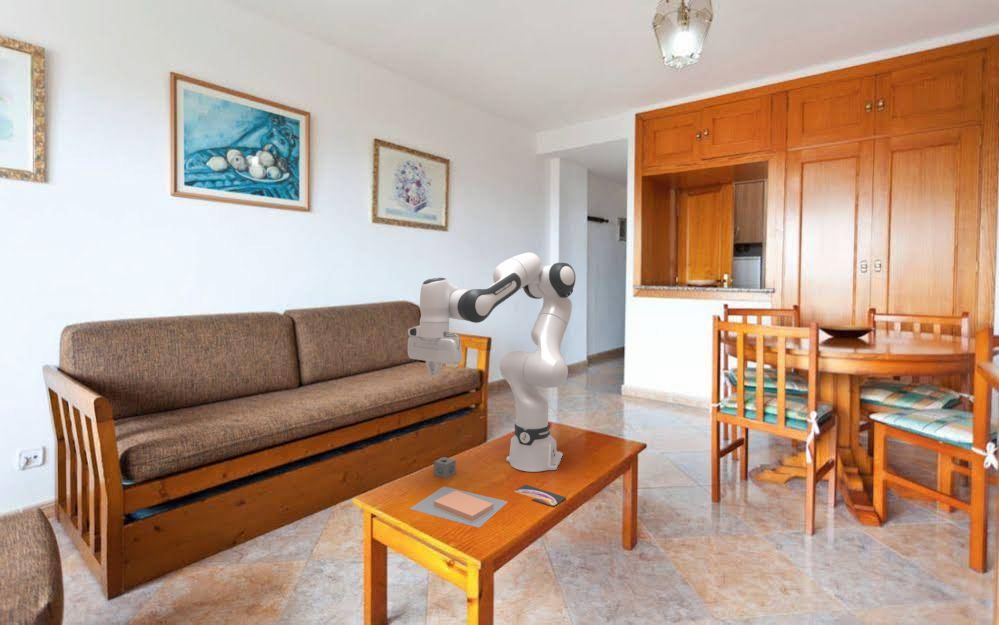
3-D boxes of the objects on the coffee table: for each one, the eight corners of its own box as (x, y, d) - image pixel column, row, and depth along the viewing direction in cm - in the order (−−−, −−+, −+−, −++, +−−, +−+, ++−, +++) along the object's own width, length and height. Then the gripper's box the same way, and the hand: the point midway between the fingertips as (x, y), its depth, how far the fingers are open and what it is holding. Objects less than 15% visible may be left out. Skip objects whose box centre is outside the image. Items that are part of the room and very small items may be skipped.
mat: (443, 487, 152) (443, 486, 152) (508, 503, 142) (508, 501, 142) (409, 510, 137) (409, 508, 137) (478, 529, 127) (479, 527, 127)
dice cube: (433, 476, 161) (434, 461, 160) (443, 471, 165) (443, 457, 165) (446, 480, 158) (446, 464, 158) (455, 474, 162) (455, 459, 162)
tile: (433, 501, 138) (472, 516, 129) (455, 490, 145) (493, 503, 137) (433, 507, 138) (472, 522, 130) (455, 496, 145) (493, 510, 137)
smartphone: (554, 506, 139) (510, 492, 148) (554, 509, 140) (510, 495, 149) (567, 497, 145) (525, 483, 154) (567, 499, 145) (525, 486, 154)
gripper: (467, 332, 147) (466, 378, 148) (418, 328, 160) (418, 370, 161) (452, 334, 142) (452, 382, 143) (404, 329, 155) (404, 373, 156)
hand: (434, 376), depth 152 cm, fingers closed
